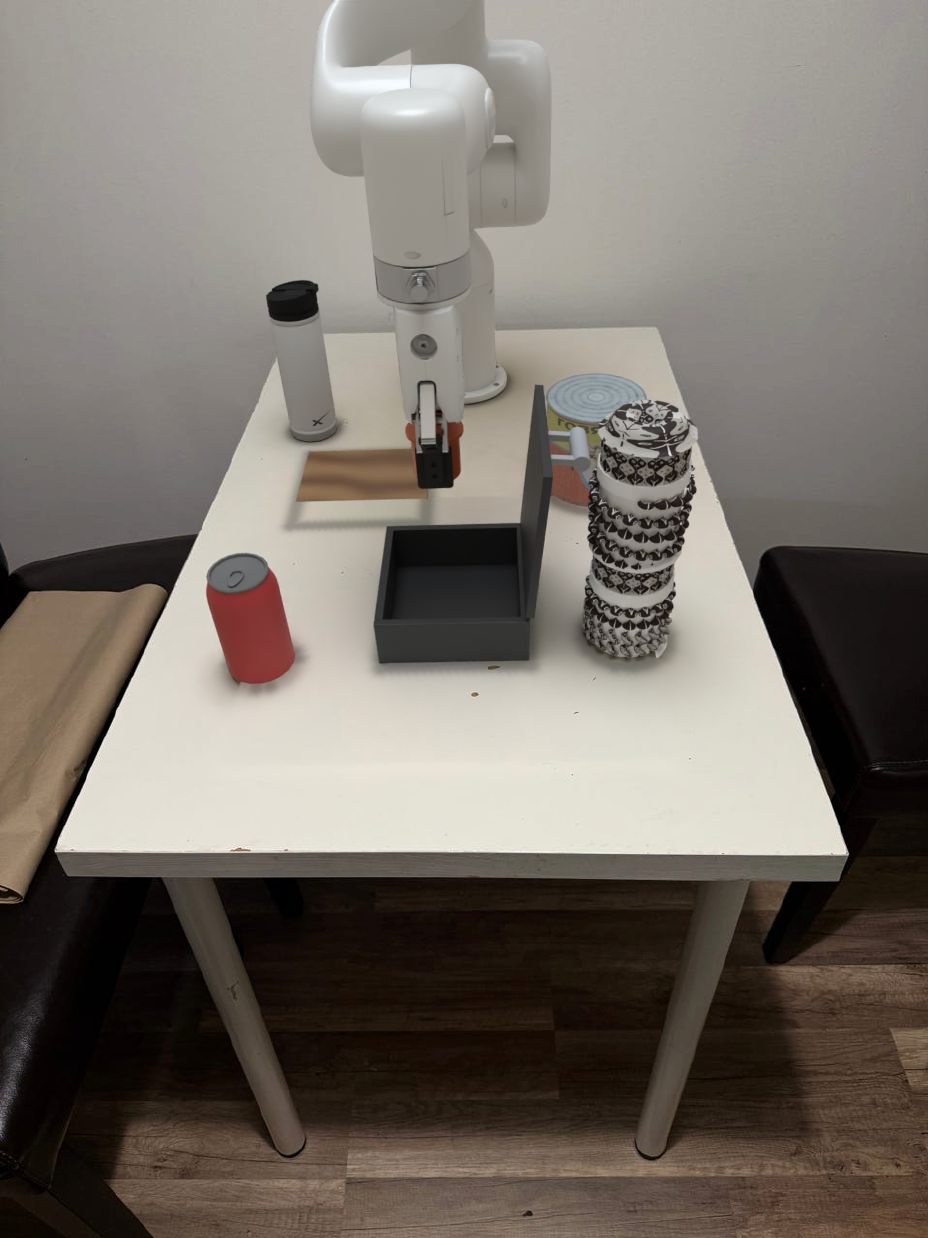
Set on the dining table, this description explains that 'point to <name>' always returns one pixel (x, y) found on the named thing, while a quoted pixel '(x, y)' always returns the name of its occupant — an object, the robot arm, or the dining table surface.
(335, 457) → the mat
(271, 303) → the travel mug
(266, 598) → the beer can
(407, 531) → the open hinged box
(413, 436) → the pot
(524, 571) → the lid
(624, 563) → the decorative candle
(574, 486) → the canned food
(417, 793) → the dining table surface
